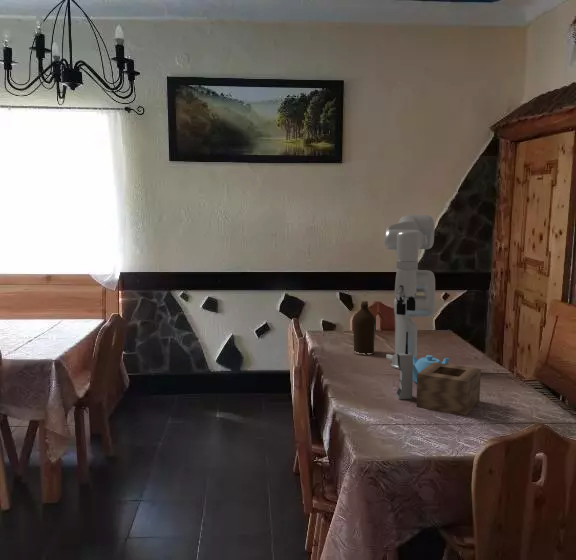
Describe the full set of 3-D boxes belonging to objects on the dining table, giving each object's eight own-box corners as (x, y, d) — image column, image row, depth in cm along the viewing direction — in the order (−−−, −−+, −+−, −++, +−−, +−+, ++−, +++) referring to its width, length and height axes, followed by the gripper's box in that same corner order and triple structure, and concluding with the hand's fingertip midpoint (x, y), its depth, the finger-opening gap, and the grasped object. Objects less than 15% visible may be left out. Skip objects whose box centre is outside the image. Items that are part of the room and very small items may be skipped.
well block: (416, 406, 212) (417, 373, 211) (432, 392, 227) (433, 362, 225) (465, 415, 203) (467, 381, 201) (479, 401, 218) (480, 369, 216)
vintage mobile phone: (396, 396, 223) (397, 330, 220) (409, 395, 224) (410, 330, 220) (398, 399, 220) (400, 333, 216) (412, 399, 220) (413, 332, 217)
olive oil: (356, 356, 279) (357, 303, 276) (349, 350, 290) (350, 300, 286) (378, 355, 282) (379, 302, 278) (370, 349, 292) (371, 299, 289)
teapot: (407, 385, 236) (407, 359, 235) (410, 374, 250) (411, 349, 249) (447, 389, 232) (447, 362, 230) (448, 377, 246) (449, 352, 245)
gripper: (405, 263, 224) (404, 308, 226) (387, 267, 210) (386, 315, 212) (425, 264, 220) (424, 309, 222) (408, 268, 206) (407, 317, 208)
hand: (405, 312), depth 217 cm, fingers open, 9 cm apart
